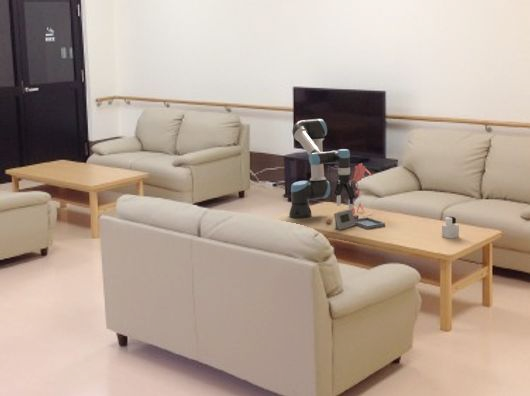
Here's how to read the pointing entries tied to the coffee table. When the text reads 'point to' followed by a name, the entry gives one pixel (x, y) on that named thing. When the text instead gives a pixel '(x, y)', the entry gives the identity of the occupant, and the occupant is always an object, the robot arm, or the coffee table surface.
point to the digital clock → (344, 219)
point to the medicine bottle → (450, 228)
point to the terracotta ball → (328, 220)
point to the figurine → (359, 174)
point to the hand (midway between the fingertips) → (344, 207)
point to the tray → (368, 223)
